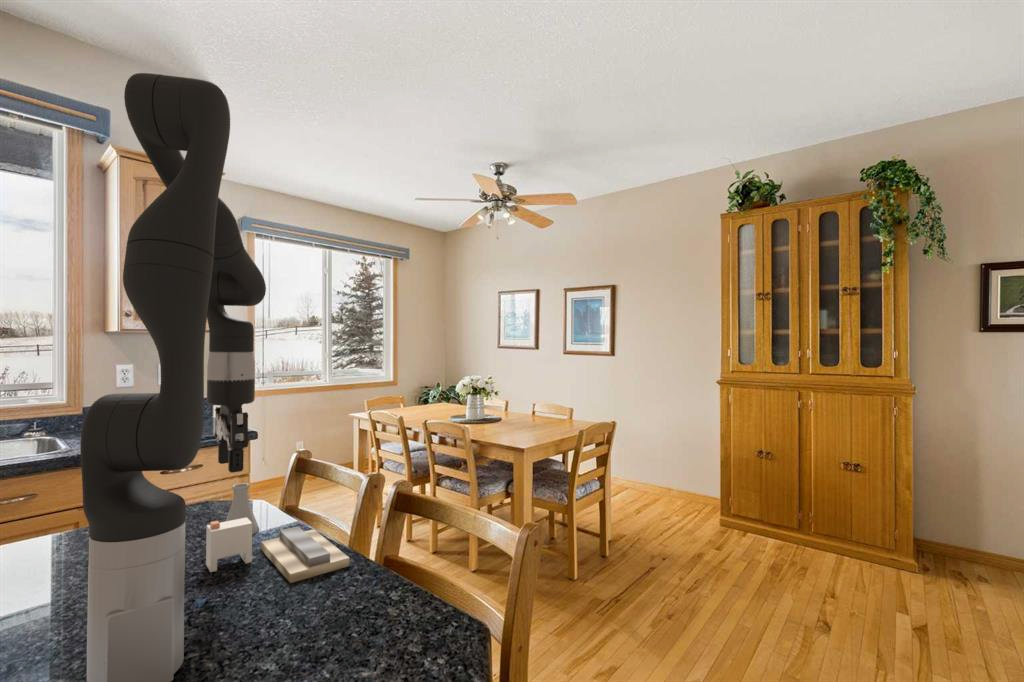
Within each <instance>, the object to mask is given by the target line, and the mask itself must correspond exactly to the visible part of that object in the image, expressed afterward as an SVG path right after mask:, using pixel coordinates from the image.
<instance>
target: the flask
mask: <svg viewBox="0 0 1024 682" xmlns="http://www.w3.org/2000/svg"><path fill="white" fill-rule="evenodd" d="M231 488H232V489H233V496H232V501H231V506H230V508H229V510H228V514H227V516H226V519H225V521H224V522H226V521H231V520H236V519H241V518H246V517H247V518H248V519H249V520H250V521H251V522H252V536H254V535H255V534H256V533H257V532H258V531H259V530H260V527H259V524H258V522H257V519H256V517H255V514H254V511H253V510H252V507H251V504H250V500H249V488H250V483H249V482H245V483H243V482H242V483H241V482H240V483H237V484H235V483H234V485H232V486H231Z"/></svg>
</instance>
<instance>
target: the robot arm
mask: <svg viewBox="0 0 1024 682" xmlns="http://www.w3.org/2000/svg"><path fill="white" fill-rule="evenodd" d="M123 97H124V108H125V111H126V114H127V119H128V121H129V123H130V125H131V128H132V130H133V132H134V134H135V137H136V138H137V140H138V142H139V144H140V146H141V147H142V149H143V151H144V153H145V155H146V156H147V158H148V159H149V161H150V163H151V165H152V167H153V168H154V170H155V172H156V173H157V175H158V176H159V179H160V180H161V182H162V184H163V185H164V186H165V190H163V191H161V193H160V194H159V195H158V196H157V197H156V198H155V199H154V200H153V201H152V202H151V203H150V204H149V205H148V206H147V207H146V208H145V209H144V211H143V212H142V213H141V214H140V215H139V216H138V217H137V218H136V220H135V221H134V222H133V224H132V225H131V227H130V229H129V232H128V236H127V241H126V247H125V254H124V262H123V270H122V271H123V273H122V284H123V288H124V291H125V294H126V296H127V298H128V300H129V302H130V304H131V306H132V307H133V309H134V311H135V313H136V314H137V316H138V318H139V319H140V321H141V322H142V323H143V325H144V326H145V328H146V330H147V331H148V334H149V336H150V337H151V339H152V340H153V343H154V346H155V347H156V351H157V353H158V358H159V365H160V366H159V367H160V385H159V386H160V388H159V392H152V393H151V392H150V393H149V392H142V393H139V392H133V393H132V392H131V393H128V392H127V393H126V392H124V393H120V392H119V393H110V394H105V395H103V396H101V397H99V398H98V399H96V400H95V401H94V402H93V403H92V404H91V406H90V407H89V409H88V410H87V411H86V414H85V417H84V419H83V422H82V426H81V431H80V445H79V446H80V449H79V450H80V465H81V469H80V470H81V483H82V484H81V485H82V487H81V489H82V508H83V509H82V510H83V513H84V516H85V518H86V521H87V523H88V526H89V527H88V532H89V533H88V535H89V537H88V565H87V566H88V568H87V569H88V570H87V572H88V573H87V574H88V575H87V618H86V619H87V620H86V621H87V624H86V629H87V630H86V633H87V634H86V682H172V681H174V674H176V673H177V672H178V670H179V669H181V666H182V665H183V663H184V659H185V658H184V652H185V647H184V646H185V573H186V572H185V571H186V570H185V569H186V567H185V566H186V524H187V523H186V521H187V505H186V501H185V499H184V498H183V497H182V496H181V495H179V494H178V493H176V492H171V491H169V490H166V489H163V488H161V487H158V486H157V485H155V484H153V483H152V482H151V481H150V480H148V479H147V478H146V477H145V476H144V474H143V472H158V471H159V472H160V471H161V472H162V471H166V472H167V471H177V470H182V469H185V468H188V466H190V465H191V464H192V462H193V461H194V460H195V458H196V457H197V454H198V452H199V449H200V445H201V442H202V438H203V430H204V419H205V418H204V416H205V412H204V411H205V410H204V409H205V377H204V376H205V374H204V373H205V370H204V369H205V365H204V364H205V343H206V341H205V339H206V329H207V326H208V331H209V332H208V333H209V334H208V335H209V342H208V344H209V347H208V351H209V352H208V357H207V364H206V365H207V366H206V403H207V404H208V405H210V406H215V408H214V411H215V419H214V420H215V422H214V424H215V425H214V428H215V429H214V438H215V439H216V442H217V443H218V446H217V447H218V448H217V452H218V453H217V463H219V464H220V465H222V464H223V465H224V464H228V465H227V466H228V467H227V470H228V472H230V474H231V473H232V474H233V473H239V472H242V471H243V470H244V458H245V457H244V456H245V455H244V452H245V449H246V448H249V447H248V446H249V414H248V412H245V411H244V412H243V405H246V404H247V405H248V404H252V403H254V401H255V399H256V398H255V396H256V392H255V388H256V386H255V385H256V383H255V382H256V381H255V378H256V377H255V376H256V362H255V356H254V349H255V348H254V344H255V343H254V342H255V337H254V336H255V334H254V333H255V329H254V324H253V323H252V322H251V321H250V320H246V319H241V318H237V317H233V316H230V315H229V314H228V313H227V311H226V309H225V307H228V306H229V307H231V306H232V307H235V306H236V307H253V306H256V305H258V304H260V303H262V301H263V300H264V299H265V296H266V293H267V286H266V281H265V277H264V275H263V274H262V272H261V270H260V269H259V267H258V265H256V263H255V261H253V259H252V257H251V256H250V255H249V254H250V253H248V252H247V251H248V250H247V249H245V246H244V242H243V239H242V235H241V233H240V229H239V225H238V222H237V220H236V217H235V216H234V214H233V212H232V210H231V209H230V208H229V206H228V205H227V204H226V202H225V201H224V200H222V198H220V196H219V195H220V188H221V184H222V178H223V173H224V168H225V162H226V157H227V153H228V147H229V143H230V135H231V110H230V105H229V101H228V98H227V95H226V93H225V92H224V91H223V89H222V88H221V87H220V86H219V85H217V84H216V83H214V82H211V81H209V80H204V79H199V78H194V77H183V76H176V75H175V76H174V75H167V74H166V75H165V74H159V73H149V72H148V73H147V72H139V73H134V74H132V75H131V76H129V78H128V79H127V81H126V84H125V87H124V95H123ZM181 151H182V152H186V154H185V157H184V155H183V153H182V152H181ZM207 324H208V325H207ZM236 440H237V441H236Z"/></svg>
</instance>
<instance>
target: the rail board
mask: <svg viewBox="0 0 1024 682" xmlns="http://www.w3.org/2000/svg"><path fill="white" fill-rule="evenodd" d="M260 550H261V552H263V554H264V555H265V556H266V557H267V559H268V560H270V562H271V563H272V564H273V565H274V566H275V567H276V569H277V570H278V571H279V572H280V573H281V574H282V576H283V577H284V578H285V579H286V580H287V581H288V582H289V583H290V584H293V583H296V582H299V581H303V580H306V579H310V578H314V577H317V576H319V575H323V574H328V573H330V572H334V571H337V570H341V569H343V568H344V569H345V568H347V567H350V557H349V555H347V554H346V553H344V552H343V551H341V550H340V549H339V548H338V547H337V546H336V545H335V544H333V543H332V542H331V541H329V539H327V538H325V537H324V536H323V535H322V534H320V533H319V532H318V531H316V530H315V529H310V530H303V529H302V528H301V527H300V526H299V525H298V526H294V527H289V528H285V529H281V530H279V537H275V538H271V539H266V540H262V541H260Z"/></svg>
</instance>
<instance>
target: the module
mask: <svg viewBox="0 0 1024 682" xmlns="http://www.w3.org/2000/svg"><path fill="white" fill-rule="evenodd" d="M225 521H226V520H225ZM225 521H222V522H219V520H213V521H210V523H209V524H207V525H206V539H205V541H206V542H205V543H206V544H205V545H206V547H205V564H206V565H205V566H206V568H207V569H208V571H209V572H210V573H212V572H217V571H218V560H220V559H223V558H229V557H232V556H236V555H240V558H241V559H242V561H243V562H244V564H249V563H252V562H253V535H252V522H251V521H250V520H249V519H248V518H247V517H246V518H241V519H236V520H231V521H226V522H225Z"/></svg>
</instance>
